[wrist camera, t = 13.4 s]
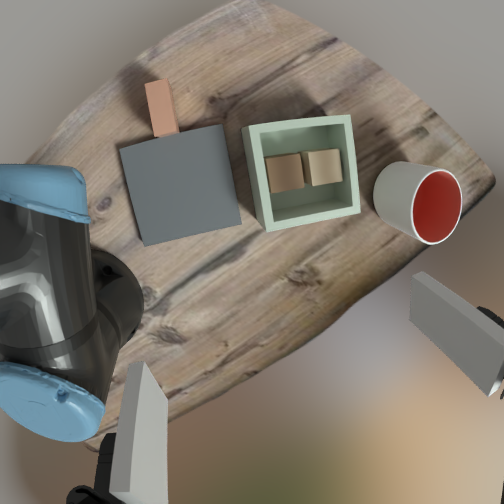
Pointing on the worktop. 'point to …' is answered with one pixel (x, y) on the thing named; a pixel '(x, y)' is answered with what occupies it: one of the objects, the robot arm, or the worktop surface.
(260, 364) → the worktop surface
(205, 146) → the lid
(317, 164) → the part
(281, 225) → the tub
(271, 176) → the part
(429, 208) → the cup
